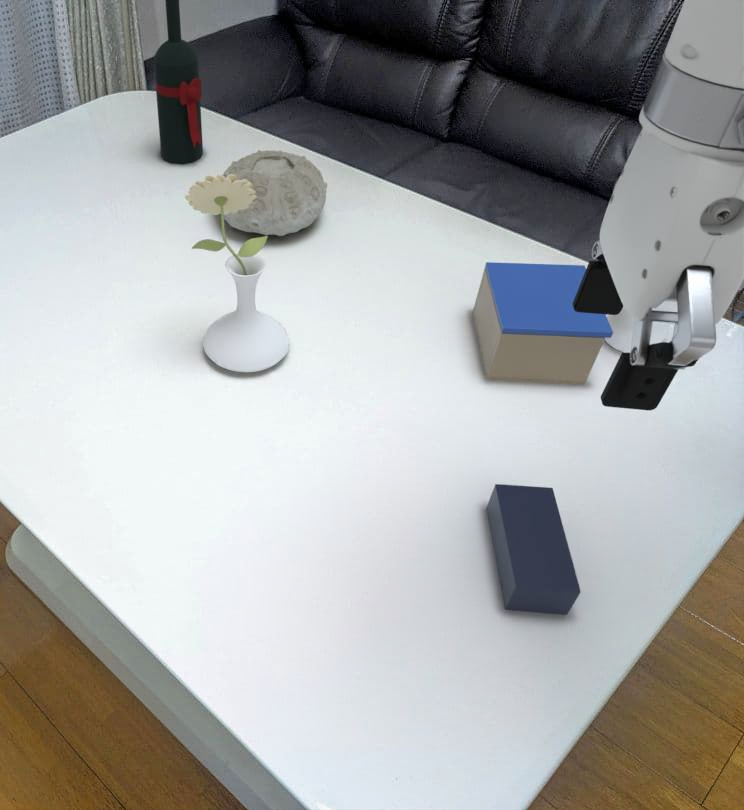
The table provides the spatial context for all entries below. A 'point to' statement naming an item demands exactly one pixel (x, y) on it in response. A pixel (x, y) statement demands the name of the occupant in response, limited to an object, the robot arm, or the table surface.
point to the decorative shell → (278, 193)
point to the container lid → (542, 300)
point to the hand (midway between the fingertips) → (609, 355)
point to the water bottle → (625, 323)
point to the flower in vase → (238, 285)
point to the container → (530, 349)
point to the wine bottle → (178, 94)
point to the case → (531, 550)
